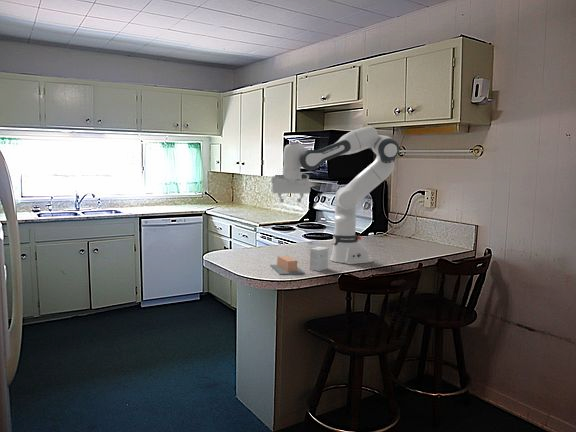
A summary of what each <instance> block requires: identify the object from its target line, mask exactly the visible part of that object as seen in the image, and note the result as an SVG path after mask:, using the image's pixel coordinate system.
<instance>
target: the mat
mask: <svg viewBox="0 0 576 432" xmlns="http://www.w3.org/2000/svg"><path fill="white" fill-rule="evenodd" d="M269 266H270V268H271V269H273V270H274V271H275V272H276V273H277V274H279V275H280V276H286V275H287V276H288V275H291V276H292V275H305V274H306V273H305V272H304V271H303V270H302V269H300V268H299V267H298V266H297V271H292V272H287V271H285V270H283V269H281V268H279V267H278V266H277V264H270V265H269Z"/></svg>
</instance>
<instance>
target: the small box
mask: <svg viewBox="0 0 576 432" xmlns="http://www.w3.org/2000/svg"><path fill="white" fill-rule="evenodd" d="M309 250H310V251H309V253H310V254H309V270H311V271H316V272H320V271H324V270H327V269H328V268H329V247H325V246H317V247H312V248H310V249H309Z"/></svg>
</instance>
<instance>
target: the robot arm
mask: <svg viewBox="0 0 576 432" xmlns="http://www.w3.org/2000/svg"><path fill="white" fill-rule="evenodd" d="M367 149H370V150H371V151H372V152H373V154H375V155H376V157H375V158H374V161H373V162H372V163H370V164H369V165H367V167H366V168H364V169H363V170H362V171H361V172H359V173H358V174H357V175H356V176H355V177H354V178H353V179H352V180H351V181H350V182H349V183H347V184H346V185H345V186H343V187H340V188H338V190H337V191H336V192H335V195H334V197H335V199H334V200H335V201H334V231H333V232H334V233H333V234H332V235H333V236H332V244H333V246H332V252H331V255H330V259H329V260H330V261H331V262H335V263H340V264H347V265H355V264H356V265H357V264H366V263H368V264H369V263H372V262H373V259H372V257H369V251H368V249H367V248H366V247H365V246H364V245H363V244H362V243H360V242H359V241H361V240H362V238H363V237H362V236H361V235H357V234H356V225H357V224H356V223H357V217H356V215H357V214H356V209H357V207H356V206H357V205H358V204H359V203H360V202H362V201H363V200H364V198H366V196H368V195H369V194H370V193H371V192H372V191H373V190H374V189H376V188H377V187H378V186H379V185H381V183H383V182H385V180H386V179H387V178H389V176H390V175H391V174H392V173H393V172H394V170H395V168H396V167H395V163H394V162H395V160H396V158H397V156H398V155H399V152H400V146H399V143H398V142H397V141H396V140H395V139H394V138H392V137H391V136H389V135H385V134H382V133H381V134H380V133H378V131H377V129H376V128H375V127H374V126H370V125H368V126H363V127H360V128H357V129H354V130H352V131H349V132H347V133H346V134H343V135H342V136H341V137H339V139H338V140H337V141H336V142H334V143H333V144H330V145H328V146H327V145H326V146H325V147H322V148H319V149H309V148H306V147H304V146H303V145H302V144H301V143H299V142H293V143H289V144H288V143H287V144H286V145H285V146H284V149H283V157H282V162H283V167H282V174H275V175H273V176H271V180H270V181H271V188H270V191H271V193H272V194H277V197H278V198H279V203H284V198H282V194H299V197H298V198H297V202H296V203H302V199H303V197H304V194H310V192H311V182H310V180H309V179H310V175H309V174H307V173H304V172H301V168H303V169H305V171H315V170H317V169H318V168H319V167H320V166H321V165H322V164H323V163H324V162H326V161H329V160H331V159H334V158H336V157H339V156H344V155H345V156H346V155H352V154H356V153H359V152H361V151H364V150H367Z"/></svg>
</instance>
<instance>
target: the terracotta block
mask: <svg viewBox="0 0 576 432" xmlns="http://www.w3.org/2000/svg"><path fill="white" fill-rule="evenodd" d="M276 261H277V263H276V265H277V266H278V267H279V268H281V269H283V270H285V271H287V272H292V271H297V267H298V260H297V259H296V258H295V259H294V258H292V257H290V256H288V255H278V256H277V258H276Z"/></svg>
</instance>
